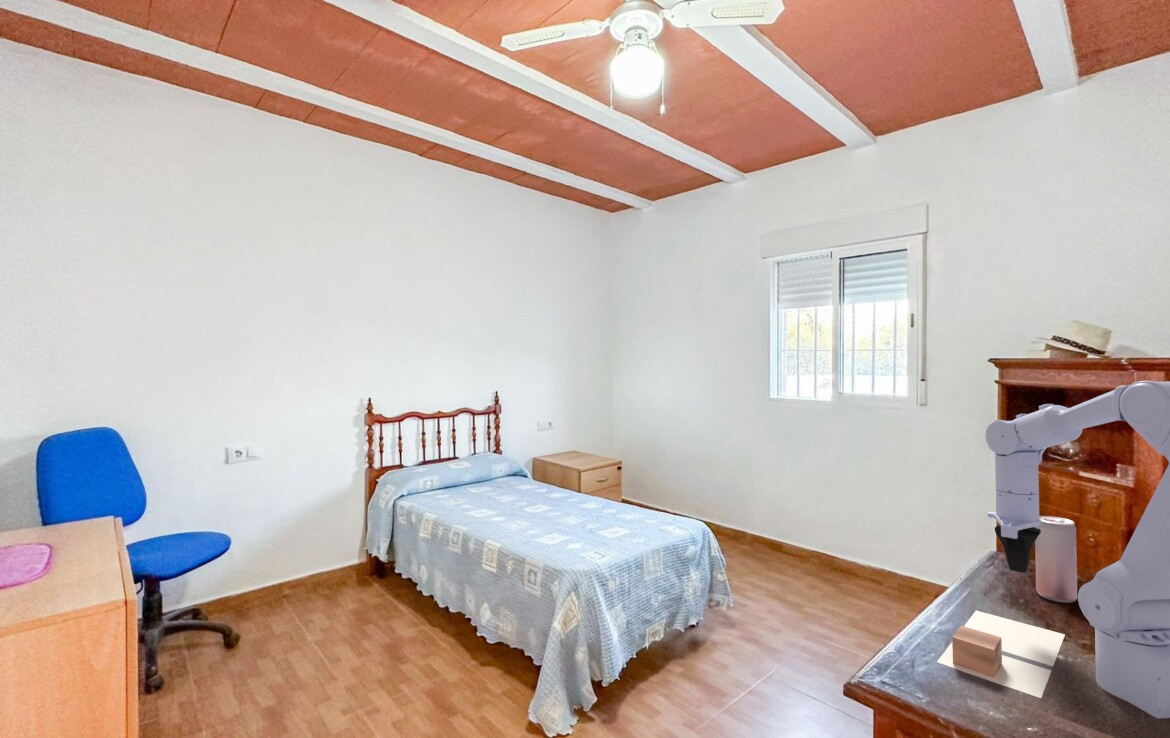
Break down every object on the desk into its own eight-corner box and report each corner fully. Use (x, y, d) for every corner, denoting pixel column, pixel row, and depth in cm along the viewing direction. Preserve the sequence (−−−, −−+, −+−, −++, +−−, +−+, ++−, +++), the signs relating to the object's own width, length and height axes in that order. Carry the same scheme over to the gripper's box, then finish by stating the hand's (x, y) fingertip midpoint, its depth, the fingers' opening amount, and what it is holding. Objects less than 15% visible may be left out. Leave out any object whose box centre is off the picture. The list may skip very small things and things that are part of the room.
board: (976, 615, 95) (975, 610, 95) (1065, 640, 86) (1065, 634, 86) (936, 668, 79) (936, 662, 79) (1041, 705, 70) (1041, 698, 70)
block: (961, 651, 82) (961, 625, 82) (1001, 664, 78) (1001, 637, 78) (952, 663, 79) (952, 637, 79) (994, 677, 75) (993, 649, 75)
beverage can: (1035, 587, 106) (1034, 513, 106) (1075, 595, 103) (1074, 518, 103) (1036, 598, 102) (1035, 521, 102) (1078, 606, 98) (1077, 526, 98)
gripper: (996, 480, 97) (998, 553, 97) (977, 494, 88) (979, 575, 88) (1047, 486, 92) (1048, 563, 92) (1032, 502, 82) (1034, 588, 83)
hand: (1018, 570), depth 90 cm, fingers closed
